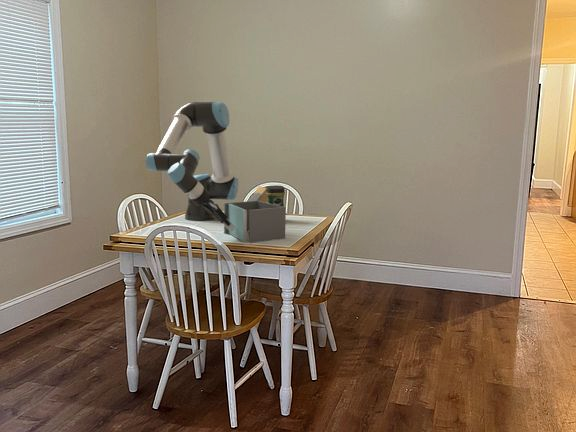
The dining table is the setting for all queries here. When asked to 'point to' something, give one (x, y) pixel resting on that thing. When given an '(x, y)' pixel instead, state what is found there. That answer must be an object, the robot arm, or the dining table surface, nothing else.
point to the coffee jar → (275, 195)
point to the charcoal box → (262, 220)
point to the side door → (238, 221)
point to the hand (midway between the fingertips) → (232, 229)
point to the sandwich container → (259, 195)
